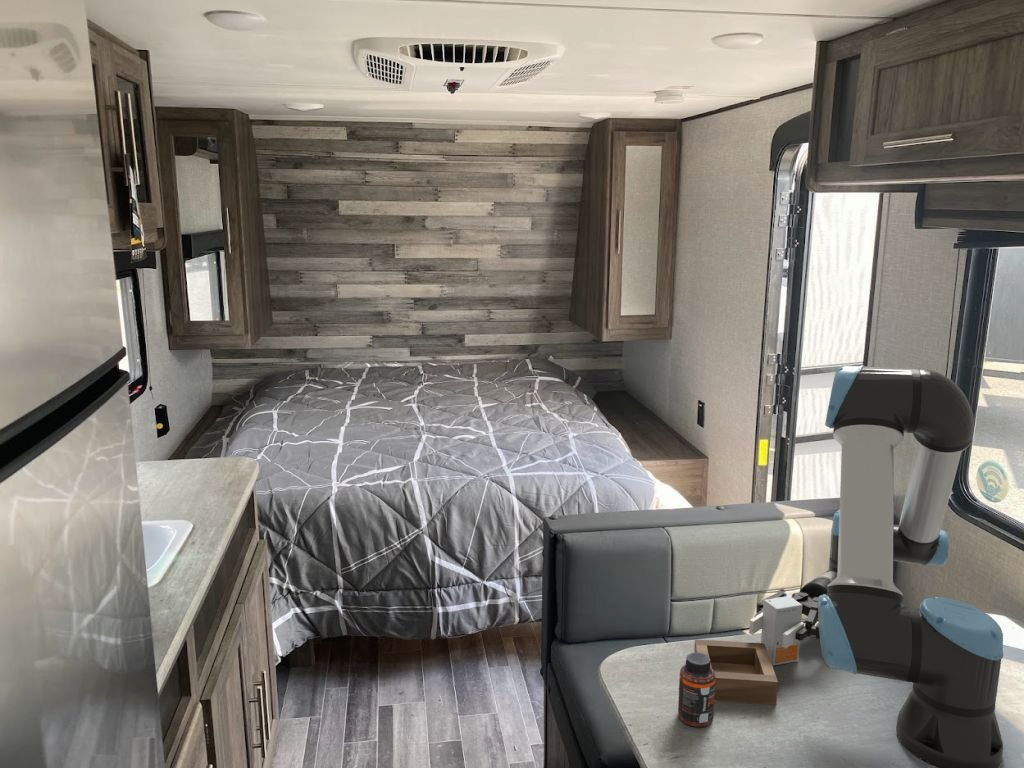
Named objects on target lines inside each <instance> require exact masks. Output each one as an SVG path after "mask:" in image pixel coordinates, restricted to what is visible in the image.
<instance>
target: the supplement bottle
mask: <svg viewBox="0 0 1024 768" xmlns="http://www.w3.org/2000/svg"><path fill="white" fill-rule="evenodd" d="M685 659H686V660H685V663H684V664H683V665H682V666H681V668H680V670H679V680H678V681H679V682H678V683H679V684H678V705H677V706H678V707H677V710H678V711H677V715H678V717H679V719H680V720H681V722H683V723H684V724H685V725H688V726H691V727H696V728H703V727H707V726H709V725H711V723H712V722H713V720H714V713H715V712H714V711H715V701H714V696H715V672H714V671H713V669H712V668H711V667H710V658H709V657H708V656H707V655H705V654H703V653H696V652H690V653H688V654H687V655H686V657H685Z"/></svg>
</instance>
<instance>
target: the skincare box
mask: <svg viewBox="0 0 1024 768" xmlns="http://www.w3.org/2000/svg"><path fill="white" fill-rule="evenodd" d="M802 615H803V614H802V604H800V603H799V602H797V601H796V600H795V599H793V598H792V597H791V596H786V597H777V598H773V599H768V600H764V603H763V619H762V629H761V634H760V635H761V637H760V639H761V640H760V643H764V644H765V647H766V650H767V652H768V655H769V658H770V661H771V664H772V666H773V667H774V666H778V665H784V664H790V663H797V662H799V654H800V643H801V641H799V640H797V641H796V642H794V643H793V644H792V645H790V646H789V647H787V648H784V647H782V644H783V633H785V632H786V631H788V630H789V629H791V628H792V627H793V626H795V625H796V624H798V623H799V622H802Z"/></svg>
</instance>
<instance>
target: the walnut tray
mask: <svg viewBox="0 0 1024 768" xmlns="http://www.w3.org/2000/svg"><path fill="white" fill-rule="evenodd" d="M694 652H696V653H703V654H705V655H707V656H708V657H709V658H710V667H711V668H712V669H713V671H714V672H715V696H714V702H715V701H716V702H728V703H729V702H730V703H743V704H746V703H747V704H759V705H774V706H775V705H776V706H777V704H778V703H777V702H778V685H779V681H778V678H777V676H776V672H775V669H774V666H772V664H771V661H770V658H769V655H768V652H767V650H766V647H765V644H764V643H761V642H750V641H749V642H748V641H747V642H746V641H731V640H730V641H729V640H715V639H697V638H695V639H694ZM694 652H693V653H694Z"/></svg>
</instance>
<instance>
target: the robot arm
mask: <svg viewBox="0 0 1024 768" xmlns="http://www.w3.org/2000/svg"><path fill="white" fill-rule="evenodd" d="M827 407H828V408H827V412H826V418H825V423H824V425H825V427H827V428H829V429H833V430H832V431H833V433H832V434H833V435H832V437H833V438H834V440H835V441H836V442H837V443H838V444H840V446H841V456H840V457H841V461H840V462H841V465H840V486H839V487H840V488H839V490H840V491H839V493H840V494H839V509H838V510H837V511H835V512H834V514H833V516H832V517H833V519H832V524H831V529H830V530H831V531H830V532H831V533H830V547H829V548H830V551H829V560H828V570H826V571H824V572H823V573H822V574H821V575H819V576H817V577H815V578H814V579H813V580H811V581H809V582H807V583H806V584H805V585H803V587H802V588H801V589H800V590H799V591H798V592H793V593H792V594H791V593H787V592H786V590H785V588H779V589H778V591H777V592H775V593H774V594H771V595H769V596H768V597H766V598H763V599H762V600H760V601H758V602H756V613H755V614H754V616H753V618H750V619H749V629H748V630H749V631H748V633H749V634H751V635H755V633H757V632H759V631H760V630H762V619H763V603H764V600H768V599H773V598H777V597H786V596H791V597H792V598H793V599H795V600H796V601H797V602H799V603H800V604H802V615H804V616H806V619H805V621H804V622H805V623H804V622H802V621H801V622H799V623H798V624H796V625H795V626H793V627H792V628H791V629H789V630H788V631H786V632H785V633H783V644H782V647H784V648H787V647H789V646H790V645H792V644H793V643H794V642H796V641H797V640H799V641H800V642H801V641H804V640H805V639H806V638H810V637H812V636H814V638H815V640H816V639H817V640H819V641H820V647H821V648H820V649H821V656H822V658H823V660H824V663H825V664H826V665H827V666H828V667H830V668H831V669H834V670H837V671H838V670H839V671H843V672H848V673H851V674H852V675H862V676H863V675H864V676H871V677H877V678H883V679H888V680H895V681H902V682H906V683H907V682H909V683H912V688H911V691H910V692H909V694H908V696H907V698H906V699H905V701H904V703H903V705H902V707H901V709H900V711H899V713H898V714H897V718H896V726H895V731H896V732H895V733H896V735H897V738H898V740H899V741H900V744H901V745H903V746H904V747H905V748H906V749H907V751H909V752H910V753H911V754H912V755H914V756H915V757H917V758H918V759H920V760H922V761H924V762H926V763H928V764H930V765H933V766H934V767H937V768H999V766H1001V764H1002V761H1003V754H1004V744H1003V743H1004V741H1003V739H1002V735H1001V732H1000V728H999V723H998V720H997V716H996V711H995V710H996V704H997V703H996V702H997V694H998V686H999V681H1000V672H1001V671H1000V670H1001V666H1002V665H1001V664H1002V659H1003V658H1004V649H1003V648H1004V633H1003V630H1002V628H1001V626H1000V624H999V623H998V622H997V621H996V620H995V619H994V618H993V617H992V616H991V615H989V614H987V613H986V612H984V611H983V610H982V609H979V608H977V607H975V606H973V605H971V604H968V603H967V602H966V603H965V602H962V601H960V600H956V599H952V598H947V597H940V596H935V597H927V598H925V599H923V600H922V602H921V603H920V605H919V608H917V607H916V608H915V607H910V606H905V605H904V594H903V592H902V591H901V590H899V588H898V587H897V586H896V585H895V583H894V562H899V563H906V564H915V565H921V566H938V567H939V566H944V565H945V564H946V563H947V561H948V557H949V550H950V541H949V535H948V533H947V532H946V531H945V530H943V529H942V528H943V523H944V520H945V516H946V512H947V508H948V506H949V505H948V504H949V501H950V497H951V493H952V489H953V485H954V481H955V478H956V474H957V471H958V468H959V467H958V466H959V463H960V459H961V457H962V452H963V451H965V450H966V449H967V448H969V446H970V445H971V442H972V439H973V436H974V435H973V434H974V431H975V430H974V429H975V419H974V413H973V410H972V407H971V404H970V402H969V401H968V398H967V396H966V395H965V393H964V392H963V390H962V389H961V388H960V387H959V386H958V385H957V384H956V383H955V381H953V380H952V379H950V378H949V377H947V376H946V375H944V374H942V373H940V372H939V371H934V370H933V369H931V370H930V369H927V368H902V367H901V368H900V367H884V366H883V367H882V366H880V367H878V366H865V365H863V364H862V365H859V366H857V365H856V366H853V365H851V366H848V365H847V366H846V365H845V366H840V367H839V368H837V370H836V371H835V373H834V377H833V381H832V387H831V391H830V397H829V402H828V406H827ZM906 433H907V434H908V433H909V434H912V437H913V439H914V440H915V442H916V443H915V447H914V453H913V458H912V463H911V467H910V471H909V475H908V476H909V477H908V480H907V481H908V482H907V486H906V491H905V495H904V496H905V497H904V501H903V505H902V510H901V515H900V519H899V520H900V521H899V524H894V505H895V503H894V494H895V493H894V492H895V491H894V487H895V486H894V485H895V482H894V481H895V448H897V447H898V446H899V445H900V444H902V442H903V441H904V439H905V437H904V435H905V434H906Z"/></svg>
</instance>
